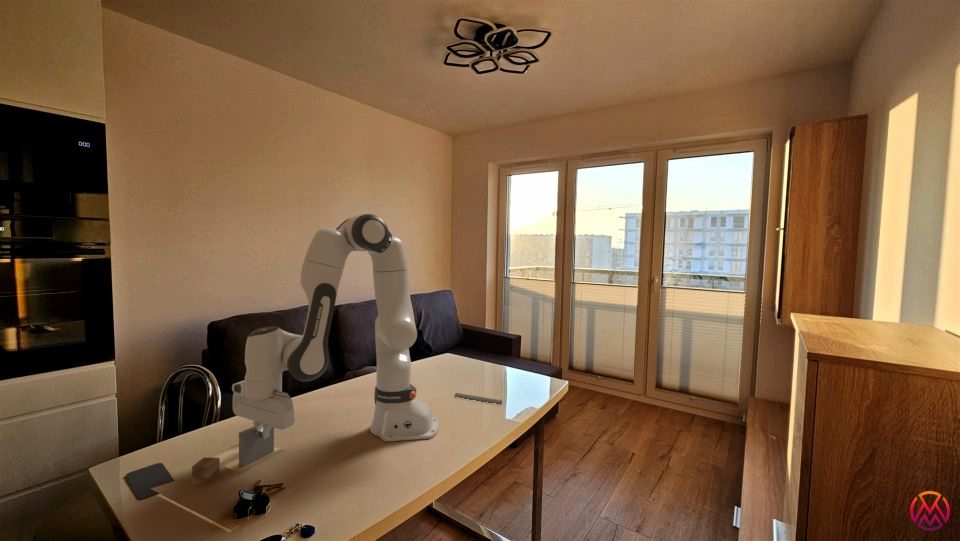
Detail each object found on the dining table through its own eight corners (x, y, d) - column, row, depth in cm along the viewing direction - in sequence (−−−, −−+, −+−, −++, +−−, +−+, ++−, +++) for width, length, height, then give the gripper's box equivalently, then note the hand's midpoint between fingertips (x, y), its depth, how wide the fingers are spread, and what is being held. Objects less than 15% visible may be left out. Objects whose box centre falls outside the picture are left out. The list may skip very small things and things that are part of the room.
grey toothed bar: (499, 407, 148) (500, 402, 148) (453, 399, 154) (453, 394, 154) (502, 403, 152) (502, 398, 152) (457, 395, 158) (457, 391, 158)
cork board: (285, 451, 110) (285, 450, 110) (241, 475, 98) (241, 473, 98) (250, 439, 116) (250, 438, 116) (205, 460, 104) (205, 458, 104)
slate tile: (273, 451, 109) (274, 420, 108) (243, 467, 101) (243, 434, 100) (269, 450, 110) (269, 419, 109) (238, 465, 101) (238, 432, 101)
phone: (138, 500, 87) (124, 473, 96) (138, 503, 87) (124, 477, 96) (178, 485, 93) (161, 461, 102) (178, 488, 93) (161, 464, 102)
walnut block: (219, 476, 97) (219, 457, 97) (208, 486, 93) (208, 466, 93) (203, 476, 97) (203, 457, 97) (192, 486, 93) (192, 466, 93)
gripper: (301, 390, 102) (300, 440, 102) (249, 377, 110) (249, 424, 111) (280, 398, 96) (279, 451, 97) (227, 384, 104) (227, 433, 105)
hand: (263, 436), depth 104 cm, fingers closed
